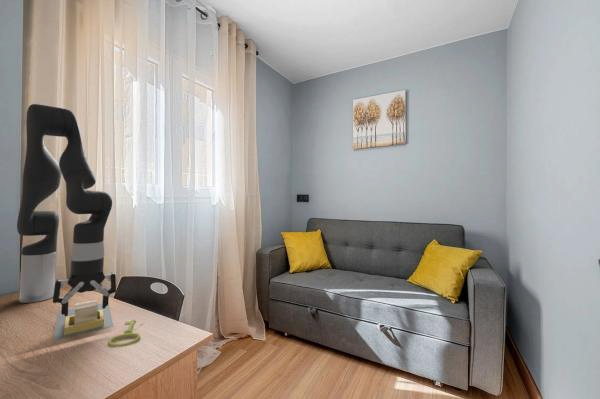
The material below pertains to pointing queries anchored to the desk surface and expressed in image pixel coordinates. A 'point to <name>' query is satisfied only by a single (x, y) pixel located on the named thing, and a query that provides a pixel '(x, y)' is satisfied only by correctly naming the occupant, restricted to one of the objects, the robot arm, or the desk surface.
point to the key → (125, 335)
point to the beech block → (86, 311)
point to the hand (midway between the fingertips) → (85, 311)
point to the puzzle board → (68, 328)
